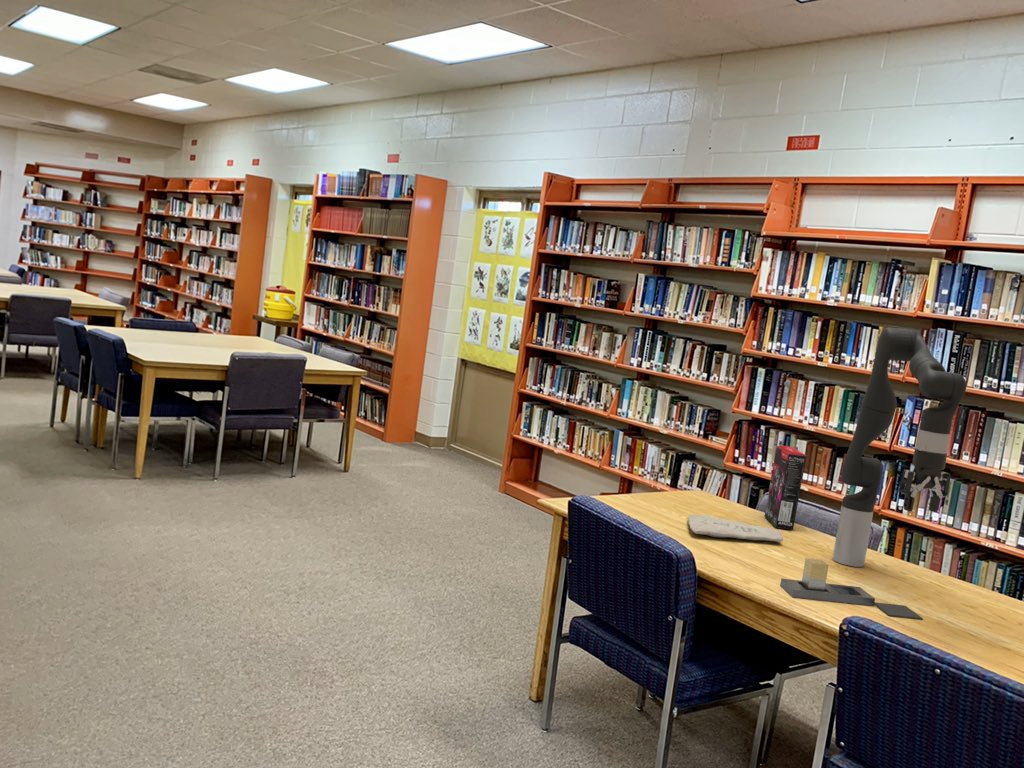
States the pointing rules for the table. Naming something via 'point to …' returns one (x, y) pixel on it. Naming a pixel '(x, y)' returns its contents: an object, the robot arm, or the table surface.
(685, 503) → the table surface
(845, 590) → the grey slotted frame
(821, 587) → the block
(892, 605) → the mat
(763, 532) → the stone
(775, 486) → the graphics card box
